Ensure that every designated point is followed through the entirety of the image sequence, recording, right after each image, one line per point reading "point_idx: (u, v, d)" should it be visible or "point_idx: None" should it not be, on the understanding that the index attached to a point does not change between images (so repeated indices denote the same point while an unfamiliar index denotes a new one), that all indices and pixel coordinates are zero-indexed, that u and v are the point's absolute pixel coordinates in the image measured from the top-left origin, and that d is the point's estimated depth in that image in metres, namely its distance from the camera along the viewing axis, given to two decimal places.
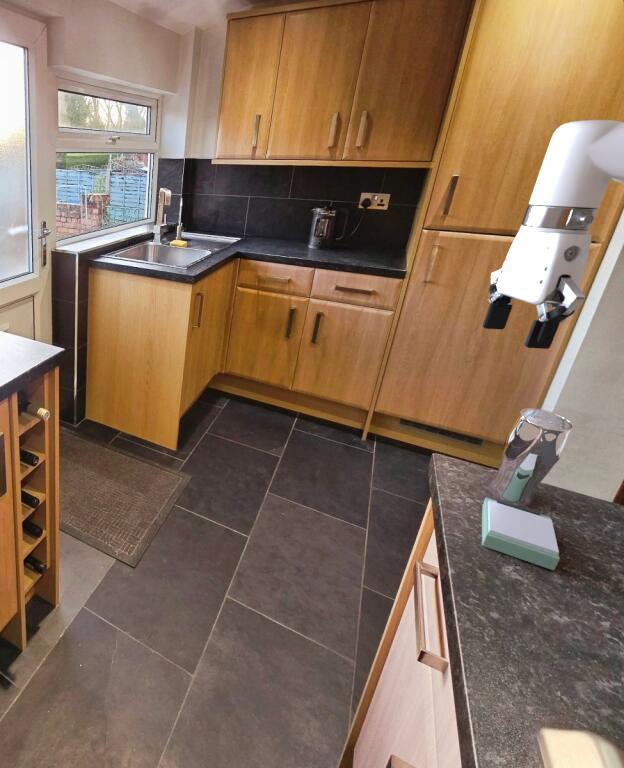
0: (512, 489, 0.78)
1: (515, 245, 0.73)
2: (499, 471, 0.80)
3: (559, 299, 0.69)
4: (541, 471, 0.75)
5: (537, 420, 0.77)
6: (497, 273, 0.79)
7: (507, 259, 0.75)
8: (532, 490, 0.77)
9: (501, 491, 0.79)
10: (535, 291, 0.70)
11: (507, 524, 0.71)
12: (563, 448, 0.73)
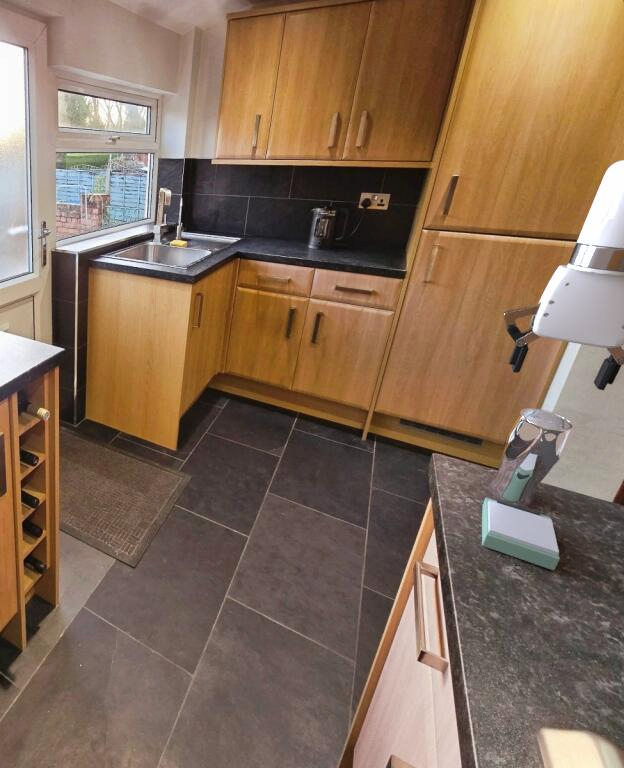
0: (512, 489, 0.78)
1: (570, 288, 0.67)
2: (499, 471, 0.80)
3: None
4: (541, 471, 0.75)
5: (537, 420, 0.77)
6: (516, 314, 0.73)
7: (554, 302, 0.69)
8: (532, 490, 0.77)
9: (501, 491, 0.79)
10: (615, 336, 0.66)
11: (507, 524, 0.71)
12: (563, 448, 0.73)
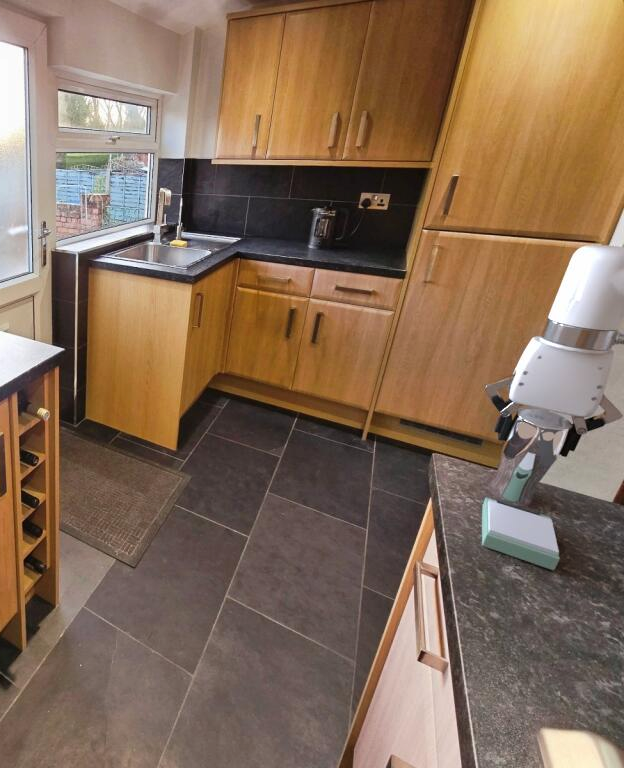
0: (512, 489, 0.78)
1: (542, 361, 0.71)
2: (498, 471, 0.80)
3: None
4: (539, 470, 0.75)
5: (535, 419, 0.78)
6: (496, 386, 0.77)
7: (528, 373, 0.73)
8: (532, 489, 0.77)
9: (501, 491, 0.79)
10: (585, 407, 0.70)
11: (507, 524, 0.71)
12: (561, 447, 0.73)
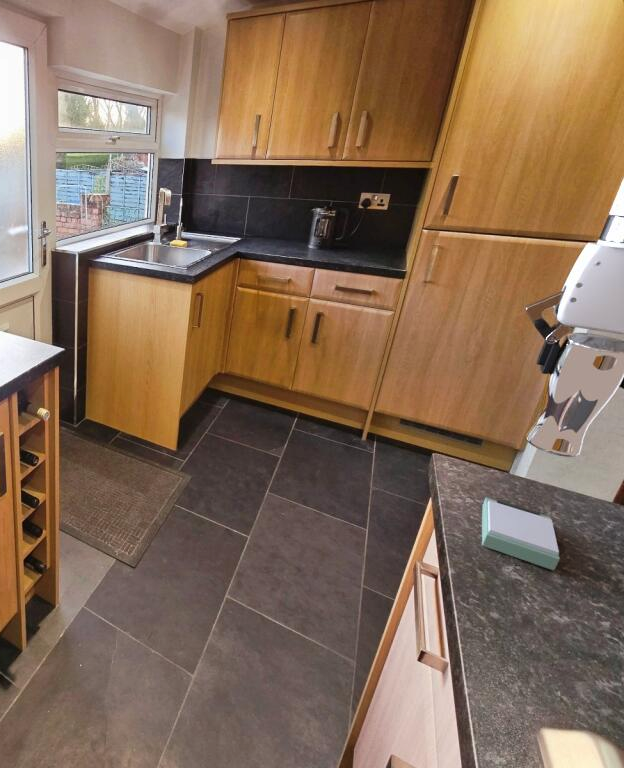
0: (559, 432, 0.64)
1: (601, 268, 0.58)
2: (541, 412, 0.66)
3: None
4: (595, 406, 0.61)
5: None
6: (540, 306, 0.63)
7: (583, 285, 0.59)
8: (583, 432, 0.64)
9: (544, 436, 0.66)
10: None
11: (507, 524, 0.71)
12: (623, 375, 0.59)
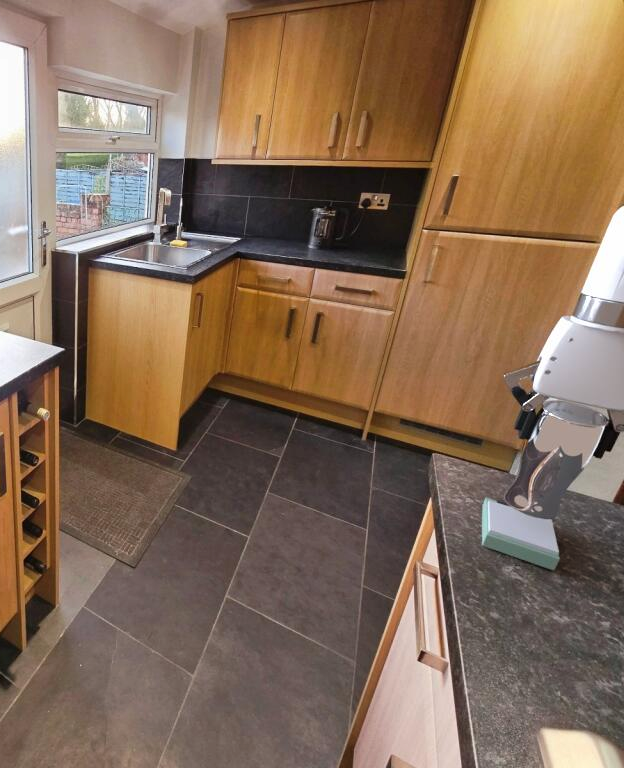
0: (535, 496, 0.66)
1: (574, 344, 0.60)
2: (518, 475, 0.68)
3: None
4: (569, 474, 0.63)
5: (562, 414, 0.66)
6: (517, 375, 0.65)
7: (556, 359, 0.61)
8: (558, 497, 0.66)
9: (521, 498, 0.68)
10: None
11: (507, 524, 0.71)
12: (595, 447, 0.61)
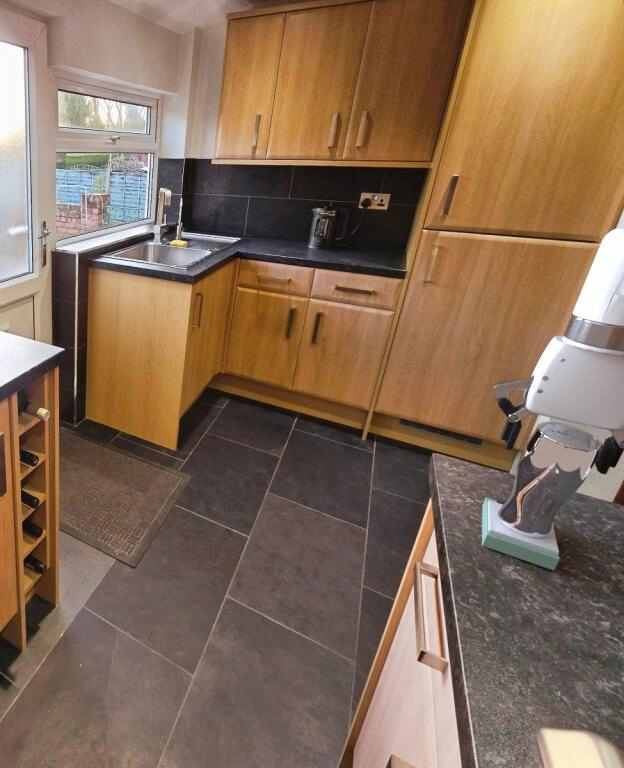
0: (528, 515, 0.68)
1: (565, 364, 0.61)
2: (512, 494, 0.69)
3: None
4: (562, 495, 0.64)
5: (557, 435, 0.67)
6: (508, 387, 0.66)
7: (549, 378, 0.62)
8: (551, 516, 0.67)
9: (515, 517, 0.69)
10: (617, 418, 0.60)
11: None
12: (588, 469, 0.62)
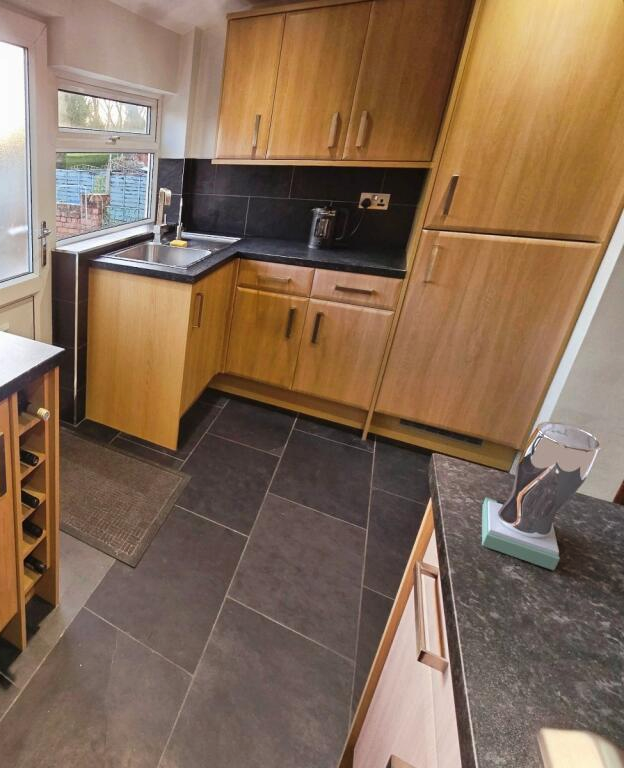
0: (528, 515, 0.68)
1: None
2: (512, 493, 0.69)
3: None
4: (562, 495, 0.64)
5: (557, 435, 0.67)
6: None
7: None
8: (551, 516, 0.67)
9: (515, 517, 0.69)
10: None
11: None
12: (588, 469, 0.62)
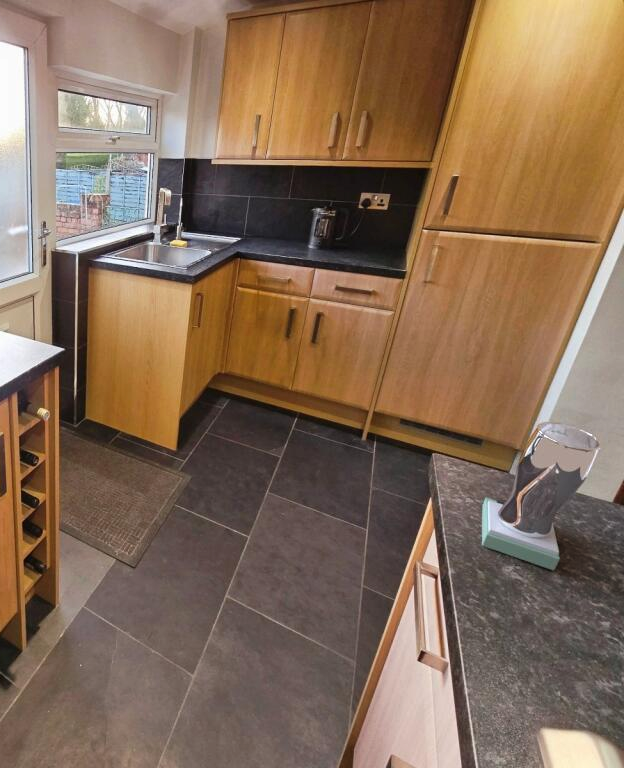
0: (528, 515, 0.68)
1: None
2: (512, 493, 0.69)
3: None
4: (562, 495, 0.64)
5: (557, 435, 0.67)
6: None
7: None
8: (551, 516, 0.67)
9: (515, 517, 0.69)
10: None
11: None
12: (588, 469, 0.62)
